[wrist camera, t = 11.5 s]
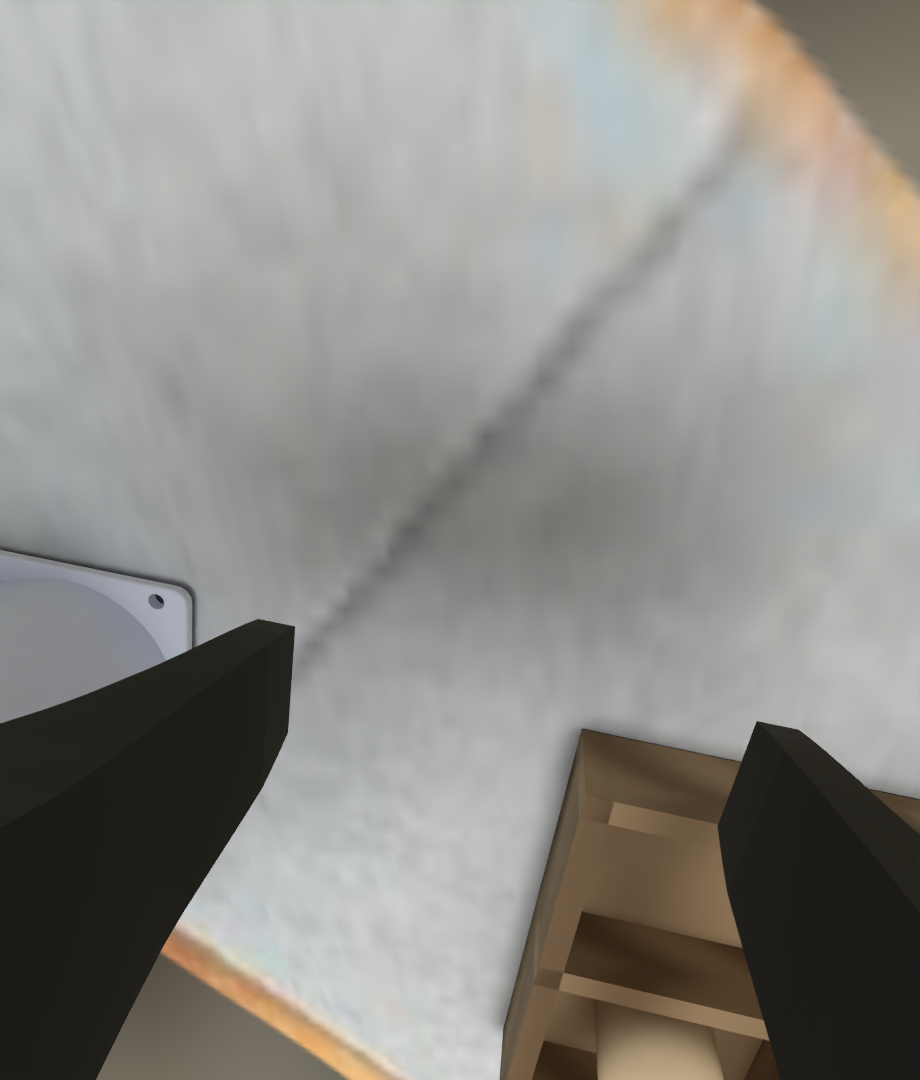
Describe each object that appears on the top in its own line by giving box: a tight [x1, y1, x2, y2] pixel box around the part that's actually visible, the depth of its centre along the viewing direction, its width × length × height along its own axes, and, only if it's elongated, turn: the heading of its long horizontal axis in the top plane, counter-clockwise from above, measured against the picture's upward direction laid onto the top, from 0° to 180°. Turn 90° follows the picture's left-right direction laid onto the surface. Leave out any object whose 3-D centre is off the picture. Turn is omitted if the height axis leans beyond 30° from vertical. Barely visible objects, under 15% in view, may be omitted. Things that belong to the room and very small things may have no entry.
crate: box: [500, 729, 920, 1080], centre depth 22 cm, size 18×14×3 cm
